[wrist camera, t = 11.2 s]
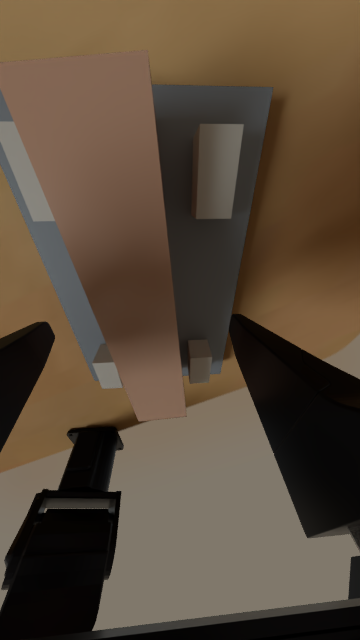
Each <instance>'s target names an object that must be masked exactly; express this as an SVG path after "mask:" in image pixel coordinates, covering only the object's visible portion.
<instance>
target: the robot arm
mask: <svg viewBox="0 0 360 640" xmlns="http://www.w3.org/2000/svg"><path fill="white" fill-rule="evenodd" d="M229 333H230V337H231V341H232V345H233V348H234V352H235V356H236V359H237V362H238V364H239V367H240V369H241V372H242V374H243V377H244V379H245V382H246V384H247V387H248V390H249V392H250V395H251V397H252V400H253V402H254V405H255V407H256V410H257V412H258V415H259V417H260V420H261V422H262V425H263V428H264V430H265V433H266V435H267V438H268V440H269V443H270V445H271V448H272V450H273V453H274V456H275V458H276V461H277V463H278V466H279V468H280V471H281V474H282V476H283V479H284V481H285V484H286V486H287V489H288V492H289V494H290V496H291V499H292V502H293V504H294V507H295V509H296V512H297V514H298V517H299V520H300V522H301V525H302V527H303V530H304V532H305V534H306V536H307V538H316V537H325V536H335V535H344V534H350V535H351V536H352V538H353V540H354V542H355V544H356V546H357V548H358V549H359V551H360V379H358V378H356V377H354V376H352V375H350V374H348V373H346V372H344V371H342V370H340V369H338V368H336V367H334V366H332V365H330V364H328V363H326V362H324V361H322V360H321V359H319V358H317V357H315V356H313V355H312V354H310V353H308V352H306V351H305V350H303V349H302V350H301V348H299V347H297V346H296V345H294V344H292V343H290V342H289V341H287V340H285V339H283V338H282V337H280V336H278V335H276V334H275V333H273V332H271V331H269V330H268V329H266V328H264V327H262V326H261V325H259V324H257V323H255V322H254V321H252V320H250V319H248V318H247V317H245V316H243V315H241V314H232V316H231V320H230V325H229ZM54 340H55V335H54V333H53V331H52V329H51V327H50V325H49V323H47V322H36V323H34V324H31V325H29V326H27V327H25V328H23V329H20V330H18V331H16V332H14V333H12V334H9V335H7V336H5V337H3V338H1V339H0V452H1V450H2V448H3V446H4V445H5V443H6V441H7V439H8V437H9V435H10V433H11V431H12V429H13V427H14V425H15V423H16V421H17V419H18V417H19V415H20V413H21V411H22V409H23V408H24V406H25V404H26V402H27V400H28V398H29V396H30V394H31V392H32V390H33V388H34V386H35V384H36V382H37V380H38V378H39V376H40V374H41V372H42V370H43V368H44V366H45V364H46V361H47V359H48V356H49V353H50V351H51V348H52V346H53V343H54ZM67 436H68V437H69V439H70V440H71V441H72V442H73V444H74V446H73V449H72V452H71V455H70V457H69V460H68V463H67V466H66V468H65V471H64V474H63V477H62V479H61V482H60V485H59V488H58V490H48V489H43V490H42V492H41V493H37V494H36V495H35V498H34V500H33V502H32V505H31V507H30V509H29V512H28V514H27V516H26V518H25V520H24V522H23V524H22V526H21V528H20V529H19V531H18V534H17V535H16V537H15V539H14V541H13V543H12V545H11V547H10V549H9V551H8V553H7V555H6V557H5V560H4V561H5V565H6V571H5V579H4V582H3V585H2V588H1V589H2V590H8V592H7V595H6V597H5V600H4V602H3V605H2V607H1V610H0V640H360V556H355V557H351V567H350V582H349V597H348V600H341V601H333V602H325V603H316V604H308V605H301V606H292V607H284V608H276V609H268V610H260V611H252V612H243V613H236V614H228V615H219V616H211V617H203V618H195V619H187V620H179V621H171V622H162V623H155V624H146V625H138V626H131V627H123V628H114V629H106V630H98V631H92V629H93V627H94V624H95V622H96V618H97V614H98V610H99V604H100V599H101V592H102V588H103V582H104V580H108V578H109V576H110V573H111V569H112V564H113V559H114V554H115V548H116V539H117V530H118V520H119V519H118V518H119V510H120V499H121V491H116V492H108V488H109V483H110V478H111V473H112V468H113V462H114V457H115V451H116V450H123V446H124V445H123V443H122V441H121V438H120V436H119V434H118V431H117V429H116V428H114V427H109V428H94V429H80V430H69V431H68V433H67ZM45 508H108V509H47V511H46V513H44V510H45Z"/></svg>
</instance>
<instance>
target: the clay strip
mask: <svg viewBox="0 0 360 640" xmlns="http://www.w3.org/2000/svg"><path fill="white" fill-rule="evenodd" d="M0 89H1V92H2V94H3V97H4V99H5V101H6V104H7V106H8V109H9V111H10V113H11V116H12V118H13V121H14V123H15V126H16V128H17V130H18V133H19V135H20V138H21V140H22V142H23V145H24V147H25V150H26V152H27V154H28V157H29V159H30V162H31V164H32V166H33V169H34V171H35V174H36V176H37V178H38V181H39V183H40V186H41V188H42V190H43V193H44V195H45V198H46V200H47V202H48V205H49V207H50V210H51V212H52V214H53V217H54V219H55V222H56V224H57V226H58V229H59V231H60V234H61V236H62V238H63V241H64V243H65V246H66V248H67V251H68V253H69V255H70V258H71V260H72V263H73V265H74V267H75V270H76V272H77V275H78V277H79V279H80V282H81V284H82V287H83V289H84V291H85V294H86V296H87V299H88V301H89V303H90V306H91V308H92V311H93V313H94V315H95V318H96V320H97V323H98V325H99V327H100V330H101V332H102V335H103V337H104V339H105V342H106V344H107V347H108V349H109V351H110V354H111V356H112V359H113V361H114V363H115V366H116V368H117V371H118V373H119V376H120V378H121V380H122V383H123V385H124V388H125V390H126V392H127V395H128V397H129V400H130V402H131V404H132V407H133V409H134V412H135V414H136V416H137V419H138V421H139V422H140V421H149V420H159V419H168V418H178V417H186V405H185V394H184V383H183V373H182V362H181V353H180V343H179V333H178V324H177V314H176V304H175V295H174V285H173V275H172V266H171V256H170V246H169V237H168V227H167V217H166V208H165V198H164V188H163V179H162V169H161V159H160V150H159V140H158V130H157V121H156V112H155V104H154V96H153V89H152V81H151V73H150V65H149V57H148V50H142V51H130V52H119V53H107V54H95V55H83V56H71V57H60V58H48V59H36V60H24V61H12V62H0Z"/></svg>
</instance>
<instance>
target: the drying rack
mask: <svg viewBox="0 0 360 640" xmlns="http://www.w3.org/2000/svg"><path fill="white" fill-rule="evenodd" d="M152 89H153V96H154V104H155V112H156V121H157V130H158V140H159V150H160V159H161V169H162V179H163V188H164V198H165V208H166V217H167V227H168V237H169V246H170V256H171V266H172V275H173V285H174V295H175V304H176V314H177V324H178V333H179V343H180V353H181V362H182V373H183V376H187V375H189V382H190V384H191V383H208V382H209V377H210V374H220V372H221V367H222V361H223V356H224V351H225V345H226V340H227V335H228V329H229V324H230V318H231V313H232V308H233V302H234V297H235V291H236V286H237V281H238V275H239V270H240V264H241V259H242V254H243V248H244V243H245V237H246V232H247V227H248V221H249V216H250V210H251V205H252V200H253V194H254V189H255V183H256V178H257V173H258V167H259V162H260V156H261V151H262V146H263V140H264V135H265V129H266V124H267V119H268V113H269V108H270V102H271V97H272V92H273V87H238V86H193V85H152ZM0 165H1V167H2V169H3V172H4V174H5V176H6V179H7V181H8V183H9V185H10V188H11V190H12V192H13V195H14V197H15V199H16V201H17V204H18V206H19V208H20V211H21V213H22V215H23V217H24V220H25V222H26V224H27V227H28V229H29V231H30V234H31V236H32V238H33V240H34V243H35V245H36V247H37V250H38V252H39V254H40V256H41V259H42V261H43V263H44V266H45V268H46V270H47V273H48V275H49V277H50V279H51V282H52V284H53V286H54V289H55V291H56V293H57V295H58V298H59V300H60V302H61V305H62V307H63V309H64V311H65V314H66V316H67V318H68V321H69V323H70V325H71V328H72V330H73V332H74V334H75V337H76V339H77V341H78V344H79V346H80V348H81V350H82V353H83V355H84V357H85V360H86V362H87V364H88V367H89V369H90V371H91V373H92V376H93V378H94V380H95V381H100V384H101V386H102V389H107V388H123V383H122V380H121V378H120V376H119V373H118V371H117V368H116V366H115V363H114V361H113V359H112V356H111V354H110V351H109V349H108V347H107V344H106V342H105V339H104V337H103V335H102V332H101V330H100V327H99V325H98V323H97V320H96V318H95V315H94V313H93V311H92V308H91V306H90V303H89V301H88V299H87V296H86V294H85V291H84V289H83V287H82V284H81V282H80V279H79V277H78V275H77V272H76V270H75V267H74V265H73V263H72V260H71V258H70V255H69V253H68V251H67V248H66V246H65V243H64V241H63V238H62V236H61V234H60V231H59V229H58V226H57V224H56V222H55V219H54V217H53V214H52V212H51V210H50V207H49V205H48V202H47V200H46V198H45V195H44V193H43V190H42V188H41V186H40V183H39V181H38V178H37V176H36V174H35V171H34V169H33V166H32V164H31V162H30V159H29V157H28V154H27V152H26V150H25V147H24V145H23V142H22V140H21V138H20V135H19V133H18V130H17V128H16V126H15V123H14V121H13V118H12V116H11V113H10V111H9V109H8V106H7V104H6V101H5V99H4V97H3V94H2V92H1V89H0Z"/></svg>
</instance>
